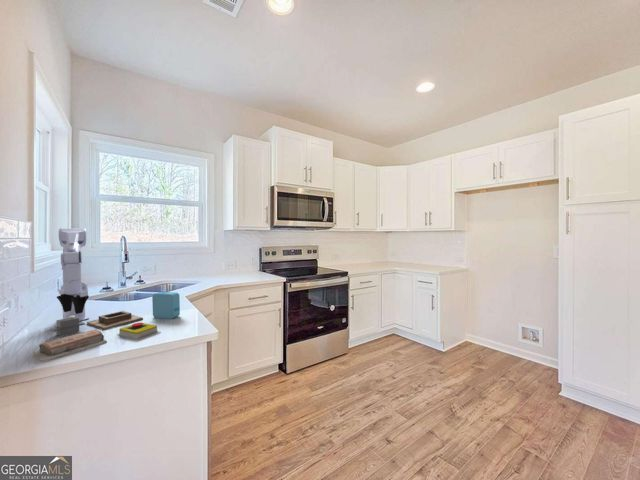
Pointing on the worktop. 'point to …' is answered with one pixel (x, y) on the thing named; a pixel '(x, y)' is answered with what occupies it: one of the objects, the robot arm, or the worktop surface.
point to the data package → (166, 305)
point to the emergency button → (139, 331)
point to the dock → (114, 320)
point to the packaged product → (69, 345)
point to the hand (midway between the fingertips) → (73, 312)
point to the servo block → (67, 326)
